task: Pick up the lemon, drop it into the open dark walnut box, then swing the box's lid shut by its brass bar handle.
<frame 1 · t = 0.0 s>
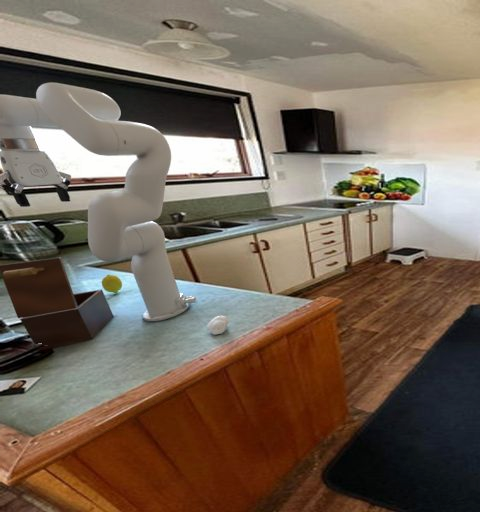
hand: (46, 203, 87), 37 cm above the counter, tool pointing down, fingers open, 9 cm apart
lid: (33, 289, 71), point 18 cm above the counter, hinge at 80.0°
dumpling: (219, 330, 82), on the counter
lemon: (116, 293, 109), on the counter
box: (79, 332, 84), on the counter
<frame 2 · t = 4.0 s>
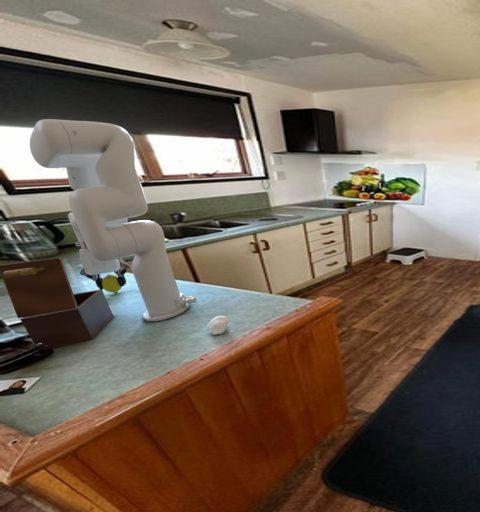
hand: (113, 286, 108), 3 cm above the counter, tool pointing down, fingers closed on lemon, 5 cm apart
lemon: (116, 293, 109), on the counter, touching gripper
everything else where it was.
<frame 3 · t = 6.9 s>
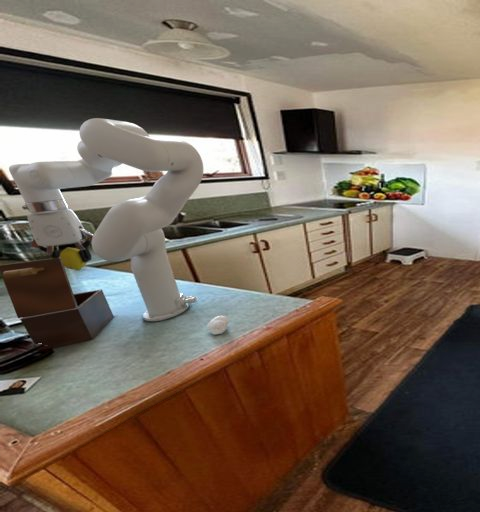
hand: (75, 262, 87), 19 cm above the counter, tool pointing down, fingers closed on lemon, 5 cm apart
lemon: (79, 271, 89), point 16 cm above the counter, touching gripper
everything else where it was.
when the fingers open (13 cm above the counter, at t = 9.8 s): lemon drops 8 cm, resting on box.
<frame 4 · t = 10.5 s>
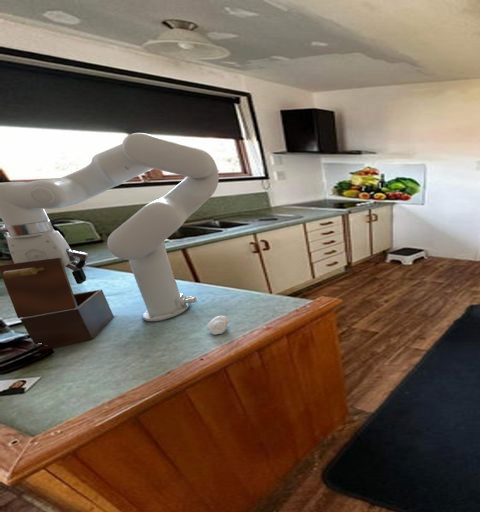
hand: (60, 285, 79), 15 cm above the counter, tool pointing down, fingers open, 9 cm apart
lemon: (78, 325, 83), point 2 cm above the counter, touching box
everything else where it was.
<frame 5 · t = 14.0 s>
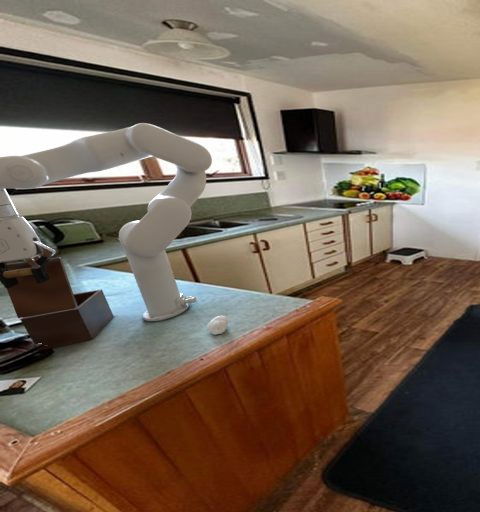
hand: (28, 283, 69), 20 cm above the counter, tool pointing down, fingers closed on lid, 5 cm apart
lid: (33, 289, 71), point 18 cm above the counter, hinge at 80.0°, touching gripper
everything else where it was.
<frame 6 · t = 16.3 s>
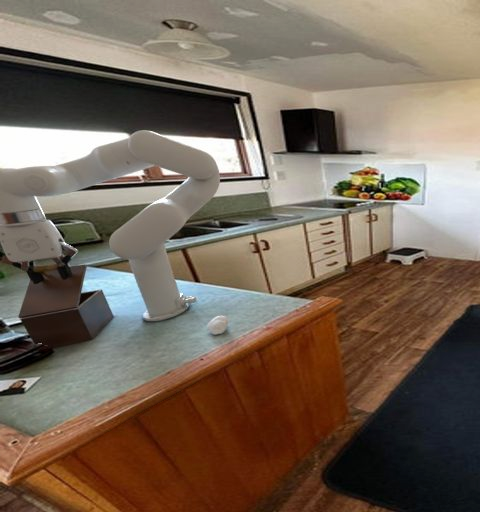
hand: (53, 279, 77), 18 cm above the counter, tool pointing down, fingers closed on lid, 5 cm apart
lid: (48, 285, 75), point 17 cm above the counter, hinge at 38.1°, touching gripper
everything else where it was.
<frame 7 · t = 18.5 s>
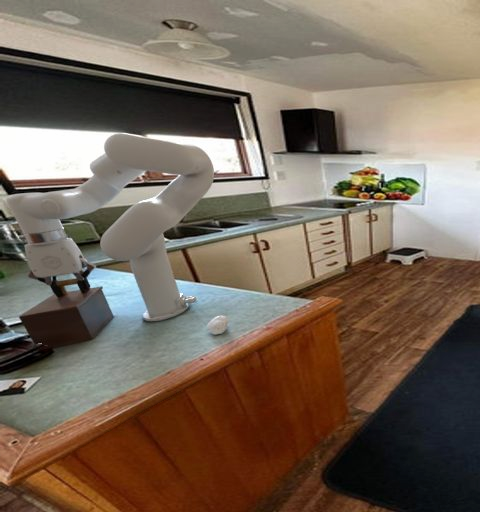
hand: (73, 292, 84), 11 cm above the counter, tool pointing down, fingers closed on lid, 5 cm apart
lid: (61, 294, 79), point 13 cm above the counter, hinge at -0.2°, touching box, gripper
everything else where it was.
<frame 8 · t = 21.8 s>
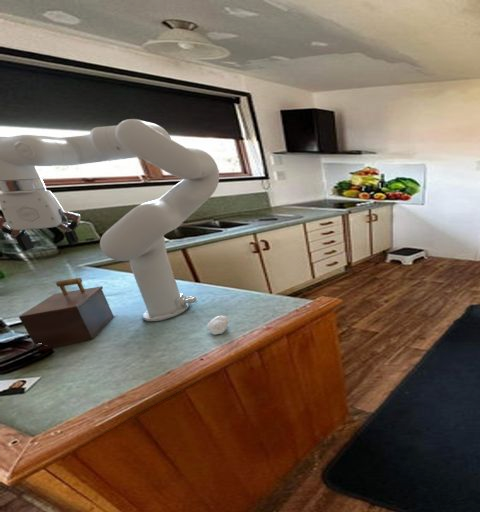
hand: (52, 246, 79), 26 cm above the counter, tool pointing down, fingers open, 9 cm apart
lid: (61, 294, 79), point 13 cm above the counter, hinge at -0.2°, touching box
everything else where it was.
at the end: lemon inside the target area in the box (0.7 cm from its centre), point 1.9 cm above the box's base; lid at +0° (first picture: +80°) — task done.
